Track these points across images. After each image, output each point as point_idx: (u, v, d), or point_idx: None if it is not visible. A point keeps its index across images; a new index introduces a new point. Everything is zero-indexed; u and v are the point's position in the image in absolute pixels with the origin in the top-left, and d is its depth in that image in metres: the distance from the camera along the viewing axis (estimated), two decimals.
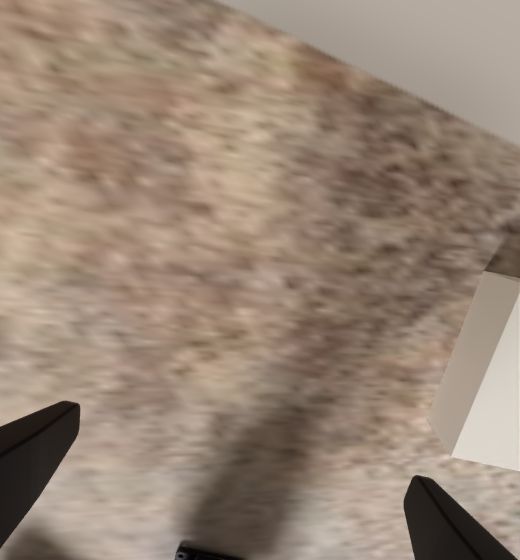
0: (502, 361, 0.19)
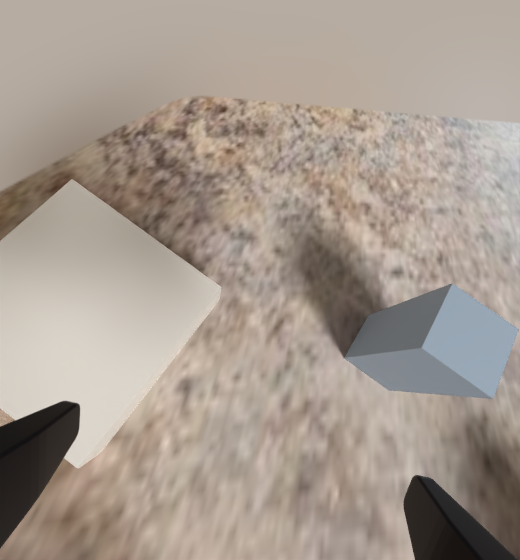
0: None
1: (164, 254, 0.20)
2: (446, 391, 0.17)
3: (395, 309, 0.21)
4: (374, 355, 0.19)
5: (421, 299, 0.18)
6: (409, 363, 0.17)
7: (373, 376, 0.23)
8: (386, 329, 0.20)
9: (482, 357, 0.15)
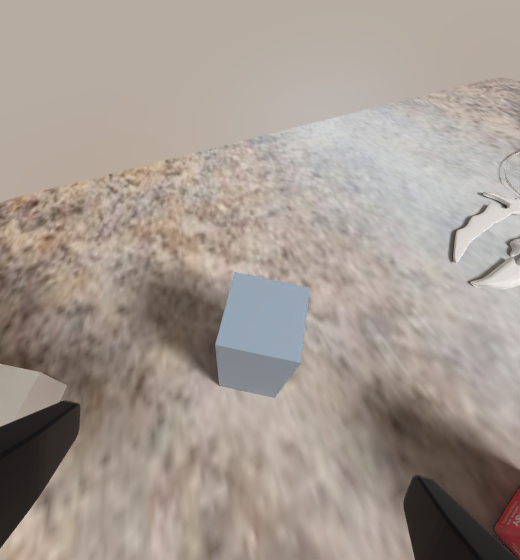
0: None
1: None
2: (283, 374, 0.17)
3: None
4: (219, 370, 0.18)
5: None
6: (237, 364, 0.17)
7: (252, 391, 0.22)
8: None
9: (280, 328, 0.15)
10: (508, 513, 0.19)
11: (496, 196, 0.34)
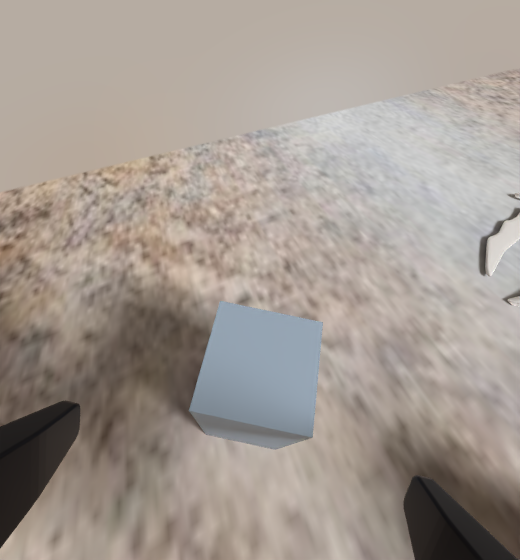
0: None
1: None
2: (286, 440, 0.12)
3: None
4: (202, 426, 0.14)
5: None
6: (224, 426, 0.12)
7: (246, 442, 0.17)
8: None
9: (283, 382, 0.11)
10: None
11: None
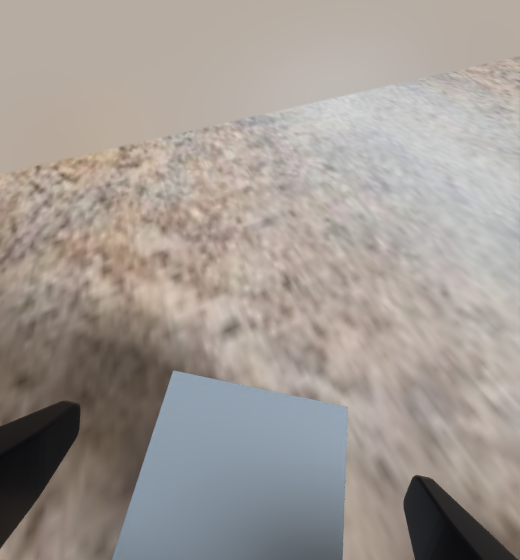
0: None
1: None
2: None
3: None
4: None
5: None
6: None
7: None
8: None
9: (279, 538, 0.06)
10: None
11: None
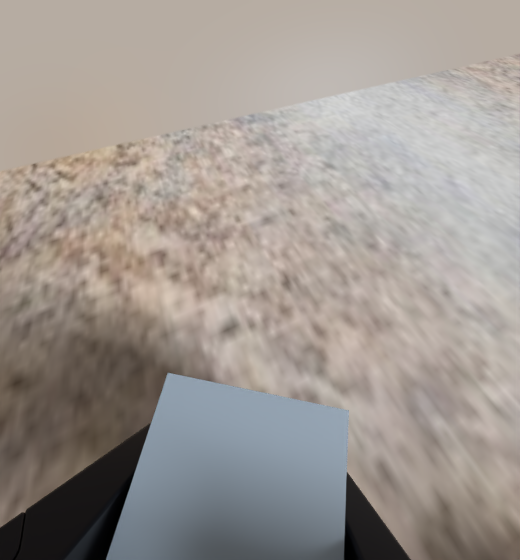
0: None
1: None
2: None
3: None
4: None
5: None
6: None
7: None
8: None
9: (278, 549, 0.06)
10: None
11: None
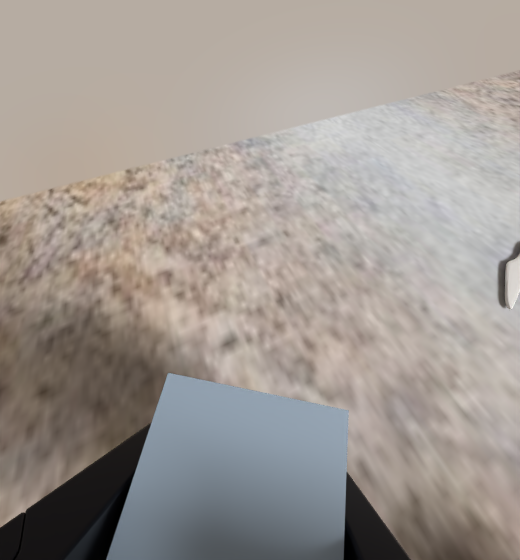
0: None
1: None
2: None
3: None
4: None
5: None
6: None
7: None
8: None
9: (278, 548, 0.06)
10: None
11: None
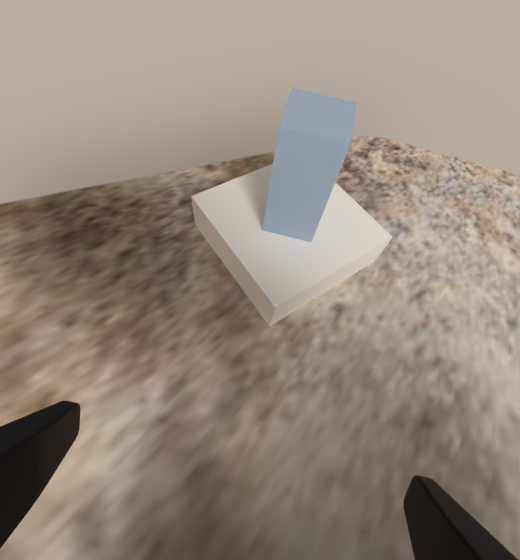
0: (227, 232, 0.25)
1: (354, 206, 0.27)
2: (329, 178, 0.19)
3: None
4: (270, 189, 0.21)
5: None
6: (290, 167, 0.19)
7: (292, 233, 0.24)
8: None
9: (332, 122, 0.18)
10: None
11: None
